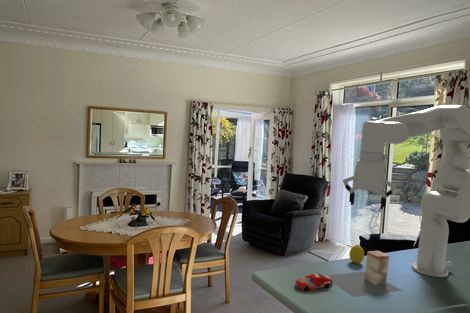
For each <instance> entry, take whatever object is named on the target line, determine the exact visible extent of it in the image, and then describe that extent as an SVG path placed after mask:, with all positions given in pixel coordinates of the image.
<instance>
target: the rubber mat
mask: <svg viewBox="0 0 470 313" xmlns="http://www.w3.org/2000/svg"><path fill="white" fill-rule="evenodd" d="M326 276H328V277H330V278H331V279H332V282H333V284H334V285H336V286H337V287H339V288H340V289H342V290H343V291H344V292H346V293H347V294H349V295H351V297H353V298H354V297H361V296H362V297H363V296H370V295H371V296H372V295H377V294H386V293H391V292H399V291H402V289H400V288H398V287H397V286H395V285H393V284H391V283H389V282H388V281H386V284H378V285H374V284H372V283H371V282H369V281H367V280H366V279H365V271H357V272H356V271H355V272H346V273H337V274H327V275H326Z"/></svg>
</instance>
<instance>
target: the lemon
mask: <svg viewBox="0 0 470 313" xmlns="http://www.w3.org/2000/svg"><path fill="white" fill-rule="evenodd" d="M348 255H349V259H350V261H351V262H352V263H354V264H356V265H357V264H360V263H362V262H364V259H365V251H364V248H362V246H361V245H359V244H355V245H353V246H351V247H350V251H349V254H348Z"/></svg>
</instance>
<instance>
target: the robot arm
mask: <svg viewBox="0 0 470 313" xmlns="http://www.w3.org/2000/svg"><path fill="white" fill-rule="evenodd" d="M361 129H362V131H361V138H360V149H359V151H360V152H359V159H357V161H356V164H355V169H354V174H353V175H352V176H349V177H347V178H345V179H343V180H342V183H343V185H344V188H345V189H346V190H347V191H348V193H349V198H348V200H349V201H348V202H349V203H350V205H351V206H353V205H354V204H355V200H356V199H355V198H356V193H355V191H356V190H360V191H361V190H362V191H370V192H377V193H378V192H379V194H380V195H381V198H380V207H379V210H383V209H384V208H386V202H387V198H388V197H389V196H391V195H392V194H393V193H394V192H395V190H396V189H397V185H396V184H394V183H393V182H392V181H389V180H387V178H386V176H387V175H386V174H387V169H386V168H387V167H386V162H384V161H385V160H388V159H389V155H386V154H385V144H393V145H397V144H398V145H399V144H402V143H405V142H406V141H407V140H408V138H409V136H410V137H411V136H412V137H414V136H415V137H416V136H424V135H427V134H429V133H433V132H435V131H438V130H439V135H440V137H441V140H442V143H443V146H444V155H443V157H442V158H443V159H442V161H441V163H440V166H439V168H438V171H437V173H436V175H435V179H434V184H435V186H436V187H437V188H438V189H440V190H443V191H447V192H453V193H457V194H451V193H447V192H442V191H439V190H438V191H436V190H431V191H427V192H426V193H424V194H423V195H422V197H421V199H420V208H421V223H420V224H421V225H420V231H419V232H420V234H419V242H418V247H417V248H418V250H417V259H416V261H415V262H414V263H412V264H411V268H412V270H414V271H415V272H417V273H420V274H422V275H425V276H428V277H434V278H446V277H448V276H449V271H448V270H447V267H452V266H453V263H452V261H450V260H448V261H446V257H447V248H448V241H449V233H450V229H449V228H450V227H449V224H448V221H452V222H456V223H466V222H467V221H468V220H469V219H470V168H468V164H469V162H470V154H469V151H468V149H467V147H466V145H467V144H468V145H470V107H468V106H467V105H463V104H448V105H447V104H445V105H436V106H433V107H430V108H426V109H423V110H419V111H416V112H409V113H405V114H402V115H401V114H400V115H395V116H390V117H385V118H382V119H379V120H367V121H364V122H363V123H362V128H361ZM349 182H352V187H351V186H350V184H349ZM386 185H387V186H388V187H389V188H390V189H389V190H388V191H385V187H386Z"/></svg>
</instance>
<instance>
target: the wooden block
mask: <svg viewBox="0 0 470 313" xmlns="http://www.w3.org/2000/svg"><path fill="white" fill-rule="evenodd" d="M389 259H390V255H389V254H387V253H384V252H382V251H380V250H370V251H367V252H366V262H365V269H364V272H365V279H366V280H367V281H369V282H371V283H372V284H374V285H378V284H386V282H387V280H388V279H387V276H388V270H389V268H388V267H389V262H390V261H389Z"/></svg>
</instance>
